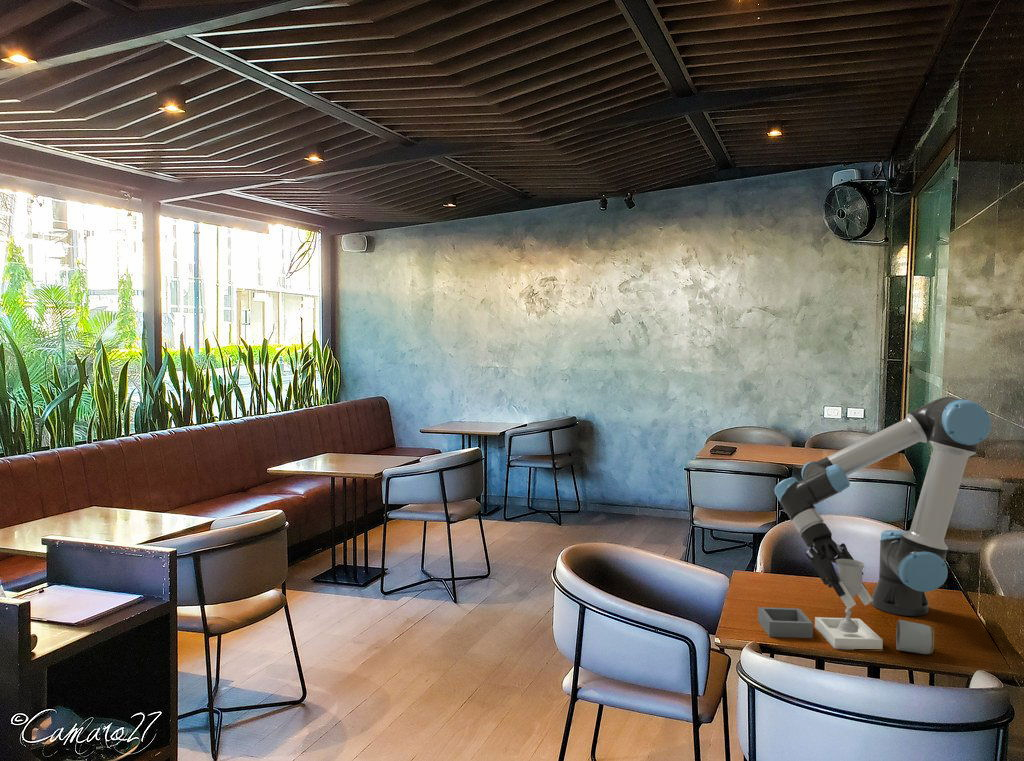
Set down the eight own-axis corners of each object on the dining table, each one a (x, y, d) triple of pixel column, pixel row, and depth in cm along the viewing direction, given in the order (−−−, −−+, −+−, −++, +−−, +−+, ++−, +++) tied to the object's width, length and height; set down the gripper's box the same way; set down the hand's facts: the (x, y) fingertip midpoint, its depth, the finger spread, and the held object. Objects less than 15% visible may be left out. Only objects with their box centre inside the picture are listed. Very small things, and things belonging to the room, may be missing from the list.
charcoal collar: (799, 622, 214) (799, 608, 214) (812, 638, 203) (813, 623, 203) (757, 621, 215) (758, 607, 215) (769, 636, 203) (769, 621, 203)
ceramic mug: (934, 659, 190) (936, 629, 190) (898, 654, 193) (899, 624, 192) (927, 645, 200) (929, 616, 199) (893, 640, 203) (894, 611, 202)
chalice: (867, 630, 202) (870, 564, 201) (853, 636, 198) (855, 568, 197) (842, 622, 208) (844, 557, 207) (827, 627, 204) (829, 561, 203)
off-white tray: (859, 628, 210) (859, 618, 210) (882, 650, 195) (882, 639, 195) (814, 627, 211) (815, 617, 211) (834, 648, 196) (834, 638, 196)
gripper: (827, 532, 220) (875, 606, 206) (780, 539, 211) (826, 616, 197) (844, 518, 215) (893, 592, 201) (795, 524, 206) (844, 603, 192)
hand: (860, 604), depth 199 cm, fingers closed on chalice, 6 cm apart
